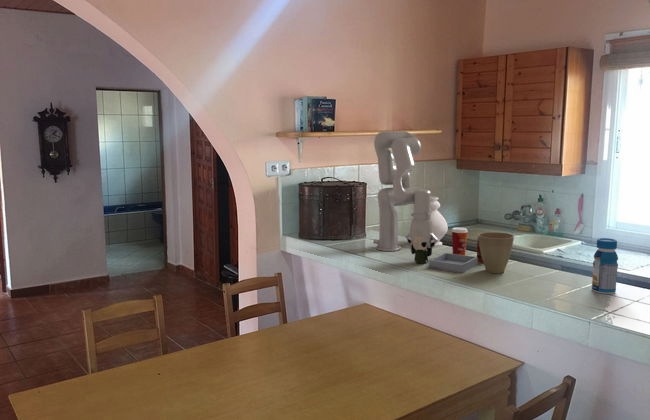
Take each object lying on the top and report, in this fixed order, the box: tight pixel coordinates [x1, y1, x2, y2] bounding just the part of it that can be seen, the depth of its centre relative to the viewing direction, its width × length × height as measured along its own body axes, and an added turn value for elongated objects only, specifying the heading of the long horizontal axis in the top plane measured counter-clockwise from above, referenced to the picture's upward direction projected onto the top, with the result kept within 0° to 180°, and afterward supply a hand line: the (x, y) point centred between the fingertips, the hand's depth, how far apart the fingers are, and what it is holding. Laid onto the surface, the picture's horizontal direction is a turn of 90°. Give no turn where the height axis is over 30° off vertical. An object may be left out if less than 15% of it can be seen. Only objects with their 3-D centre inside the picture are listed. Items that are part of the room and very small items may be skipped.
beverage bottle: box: [591, 237, 619, 295], centre depth 209 cm, size 8×8×20 cm
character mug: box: [413, 236, 429, 264], centre depth 256 cm, size 11×7×13 cm, turn 130°
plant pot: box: [477, 231, 515, 274], centre depth 240 cm, size 15×15×16 cm
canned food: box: [476, 238, 483, 263], centre depth 259 cm, size 8×8×11 cm
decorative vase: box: [430, 196, 449, 247], centre depth 297 cm, size 18×18×25 cm
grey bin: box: [428, 252, 479, 274], centre depth 249 cm, size 16×18×4 cm
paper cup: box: [451, 226, 469, 256], centre depth 266 cm, size 8×8×14 cm
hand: (421, 254), depth 256 cm, fingers closed on character mug, 7 cm apart
